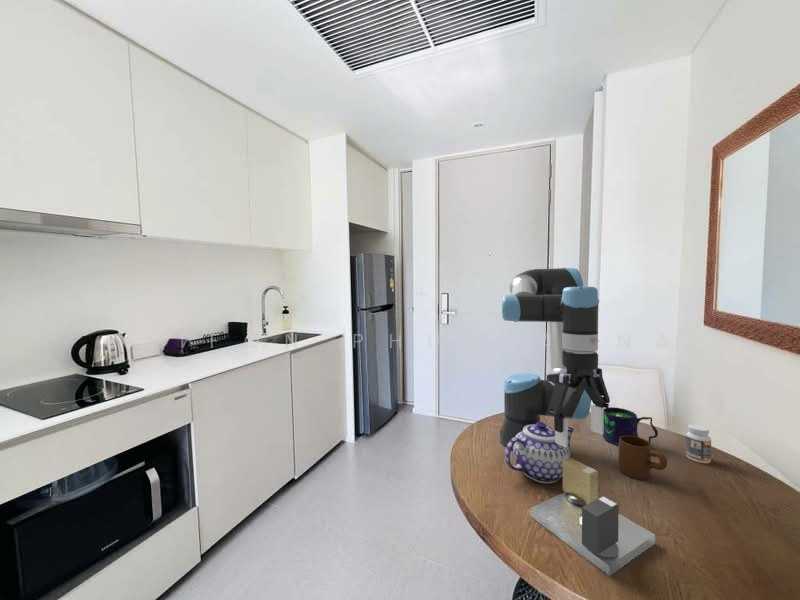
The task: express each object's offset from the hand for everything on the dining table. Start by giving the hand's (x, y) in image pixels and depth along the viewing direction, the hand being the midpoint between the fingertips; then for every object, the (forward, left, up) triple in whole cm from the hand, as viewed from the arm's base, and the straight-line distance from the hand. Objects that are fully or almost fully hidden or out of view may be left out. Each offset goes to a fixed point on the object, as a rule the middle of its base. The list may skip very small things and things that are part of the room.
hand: (579, 438), depth 78 cm
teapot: (-15, +4, -18) cm, 23 cm away
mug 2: (0, +27, -18) cm, 32 cm away
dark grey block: (+11, -10, -15) cm, 21 cm away
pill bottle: (+3, +52, -18) cm, 55 cm away
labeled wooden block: (0, 0, -15) cm, 15 cm away
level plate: (+5, -5, -17) cm, 19 cm away
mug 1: (-13, +45, -18) cm, 50 cm away
